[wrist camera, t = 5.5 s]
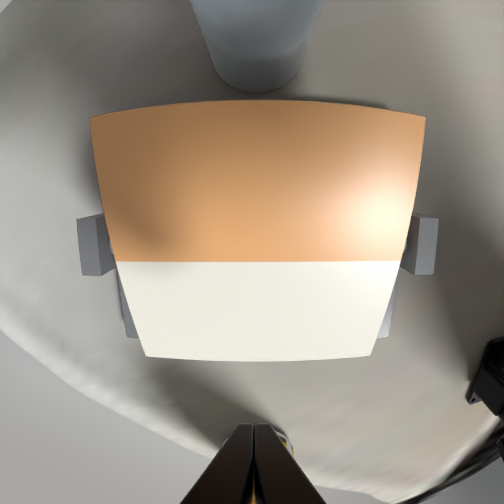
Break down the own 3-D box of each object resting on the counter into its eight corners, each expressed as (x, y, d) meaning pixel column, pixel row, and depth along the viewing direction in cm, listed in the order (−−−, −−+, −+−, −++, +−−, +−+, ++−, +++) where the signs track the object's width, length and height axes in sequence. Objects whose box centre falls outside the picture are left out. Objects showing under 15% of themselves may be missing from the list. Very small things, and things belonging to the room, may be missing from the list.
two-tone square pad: (415, 113, 10) (441, 120, 8) (372, 327, 15) (382, 354, 14) (99, 114, 10) (73, 121, 8) (143, 327, 15) (133, 354, 14)
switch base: (394, 119, 15) (444, 98, 10) (382, 329, 18) (419, 375, 12) (119, 120, 15) (69, 98, 10) (132, 330, 18) (96, 376, 13)
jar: (298, 22, 14) (335, -111, 3) (302, 94, 15) (366, -27, 4) (214, 22, 14) (175, -111, 3) (211, 94, 15) (148, -27, 4)
